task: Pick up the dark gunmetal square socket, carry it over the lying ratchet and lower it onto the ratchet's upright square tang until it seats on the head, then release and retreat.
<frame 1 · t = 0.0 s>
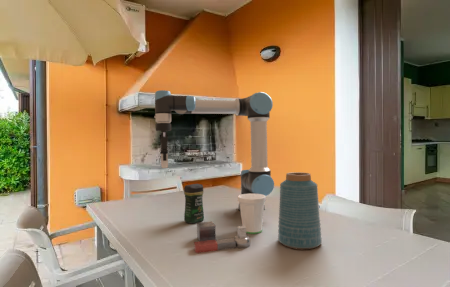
hand: (164, 166, 132), 28 cm above the table, fingers open, 13 cm apart
socket: (206, 239, 110), on the table
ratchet: (241, 245, 104), on the table
cup: (252, 231, 120), on the table
vase: (299, 243, 105), on the table
coffee jar: (194, 221, 136), on the table
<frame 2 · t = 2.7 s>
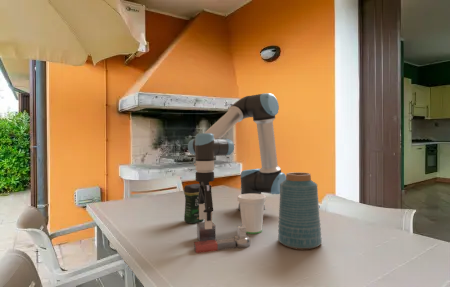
hand: (205, 223, 110), 6 cm above the table, fingers open, 13 cm apart
nothing on the table moved.
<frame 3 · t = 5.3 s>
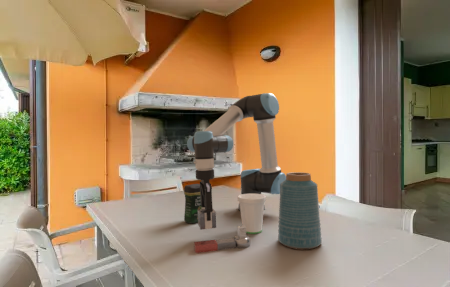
hand: (207, 225, 111), 6 cm above the table, fingers closed on socket, 6 cm apart
socket: (207, 226, 111), point 5 cm above the table, touching gripper
everything else where it was.
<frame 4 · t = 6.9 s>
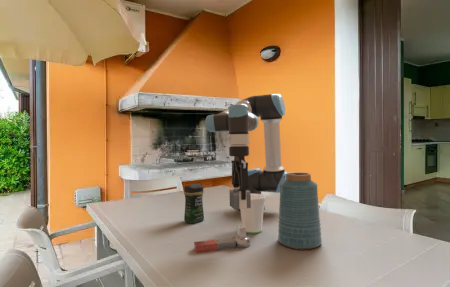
hand: (240, 205, 104), 15 cm above the table, fingers closed on socket, 6 cm apart
socket: (240, 206, 104), point 15 cm above the table, touching gripper
everything else where it was.
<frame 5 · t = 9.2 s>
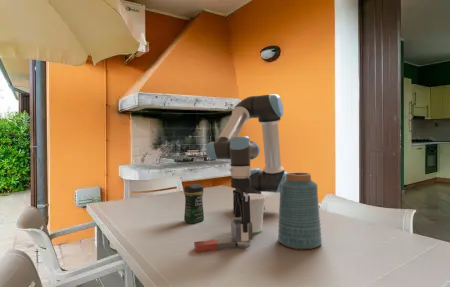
hand: (241, 237, 104), 3 cm above the table, fingers closed on socket, 6 cm apart
socket: (241, 237, 104), point 3 cm above the table, touching gripper
everything else where it was.
when the fingers open (3 cm above the table, at t = 9.8 s): socket stays where it is, resting on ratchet.
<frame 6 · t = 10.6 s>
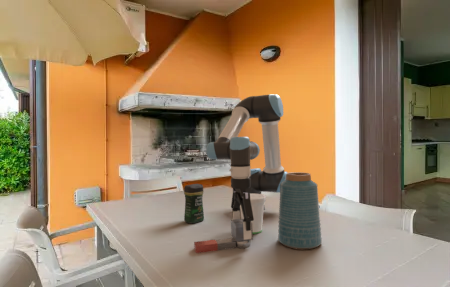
hand: (241, 232, 104), 5 cm above the table, fingers open, 13 cm apart
socket: (241, 237, 103), point 3 cm above the table, touching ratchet
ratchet: (242, 245, 104), on the table, touching socket
everything else where it was.
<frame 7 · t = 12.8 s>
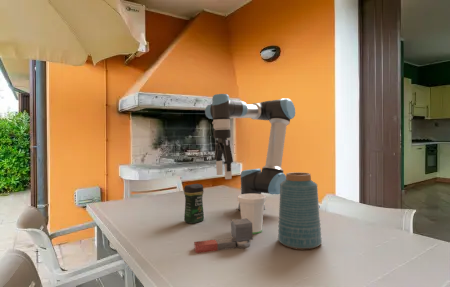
hand: (223, 176, 121), 24 cm above the table, fingers open, 13 cm apart
nothing on the table moved.
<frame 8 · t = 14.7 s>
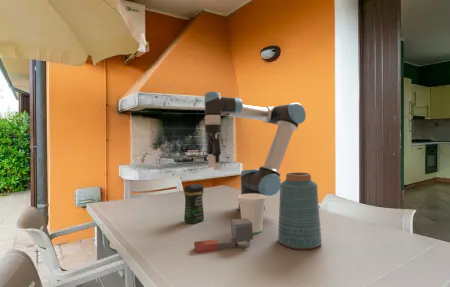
hand: (213, 168, 131), 27 cm above the table, fingers open, 13 cm apart
nothing on the table moved.
at the end: socket 0.1 cm off-centre on the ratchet, point 3.0 cm above the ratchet's base; socket tilted 0°; the gripper is holding nothing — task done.
